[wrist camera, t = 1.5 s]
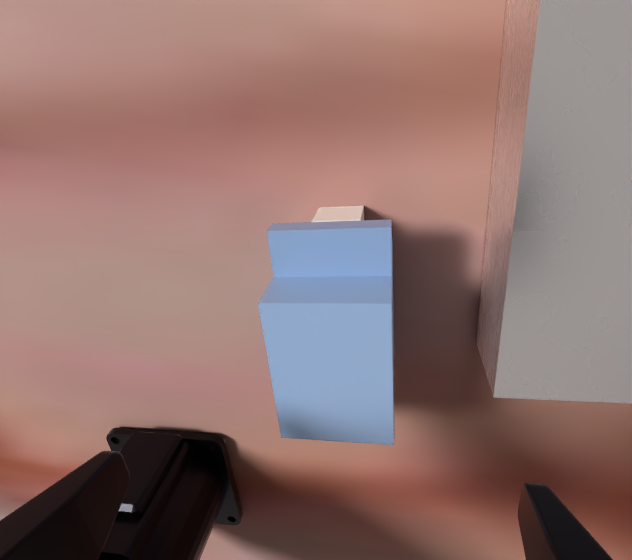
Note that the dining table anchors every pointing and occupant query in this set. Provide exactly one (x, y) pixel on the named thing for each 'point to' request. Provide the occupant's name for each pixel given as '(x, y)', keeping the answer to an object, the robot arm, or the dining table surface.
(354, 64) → the dining table surface
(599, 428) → the dining table surface
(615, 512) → the dining table surface
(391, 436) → the block
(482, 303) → the mount plate
